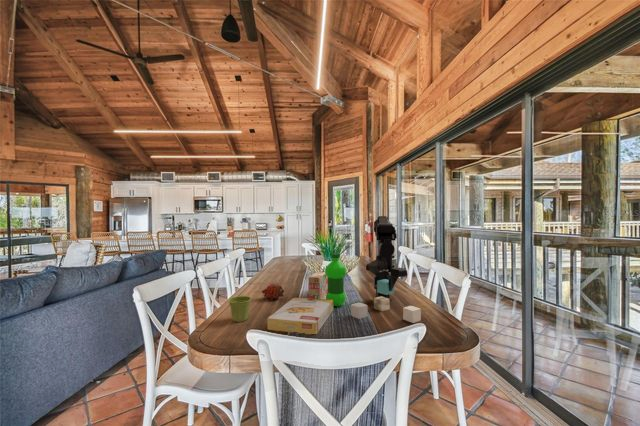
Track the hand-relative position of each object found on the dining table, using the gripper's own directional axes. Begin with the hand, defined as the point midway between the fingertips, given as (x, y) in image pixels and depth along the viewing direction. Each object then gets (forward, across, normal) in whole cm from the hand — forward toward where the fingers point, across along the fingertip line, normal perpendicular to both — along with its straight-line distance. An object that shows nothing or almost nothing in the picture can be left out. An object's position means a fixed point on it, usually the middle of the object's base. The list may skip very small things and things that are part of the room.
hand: (385, 289), depth 122 cm
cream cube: (+12, +8, +7) cm, 16 cm away
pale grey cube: (+12, -8, -8) cm, 17 cm away
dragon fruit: (+12, -53, -28) cm, 61 cm away
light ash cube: (+12, -9, +7) cm, 17 cm away
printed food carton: (+12, -45, -3) cm, 47 cm away
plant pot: (+12, -34, -52) cm, 63 cm away
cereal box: (+13, -19, -30) cm, 38 cm away
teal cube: (+1, 0, 0) cm, 1 cm away
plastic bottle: (+12, -26, -7) cm, 30 cm away
